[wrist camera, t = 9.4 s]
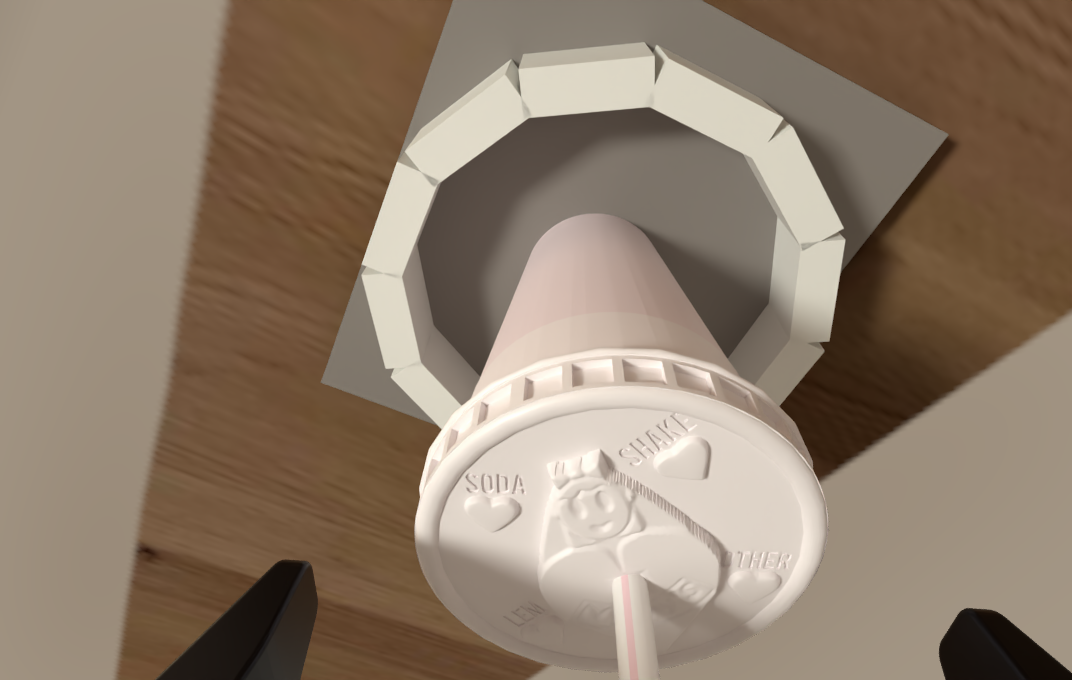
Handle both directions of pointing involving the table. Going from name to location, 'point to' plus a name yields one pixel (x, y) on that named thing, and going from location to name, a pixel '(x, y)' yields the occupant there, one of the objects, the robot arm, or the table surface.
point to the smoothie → (615, 474)
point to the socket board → (620, 186)
